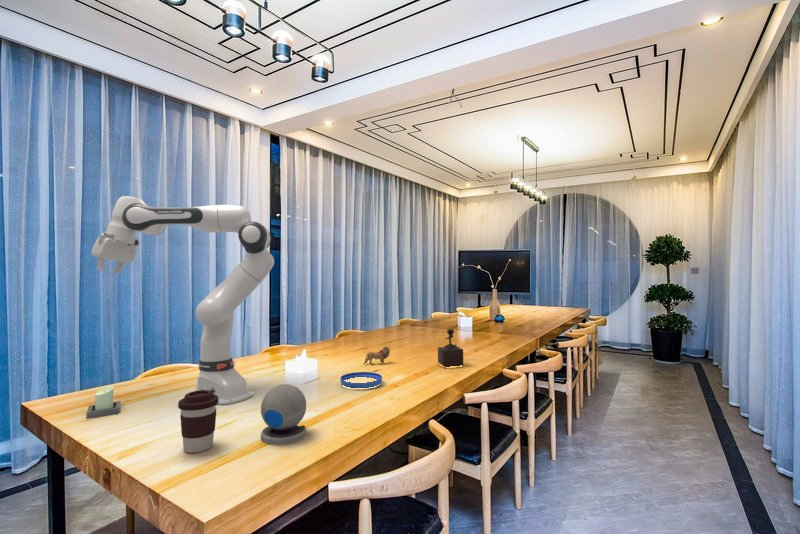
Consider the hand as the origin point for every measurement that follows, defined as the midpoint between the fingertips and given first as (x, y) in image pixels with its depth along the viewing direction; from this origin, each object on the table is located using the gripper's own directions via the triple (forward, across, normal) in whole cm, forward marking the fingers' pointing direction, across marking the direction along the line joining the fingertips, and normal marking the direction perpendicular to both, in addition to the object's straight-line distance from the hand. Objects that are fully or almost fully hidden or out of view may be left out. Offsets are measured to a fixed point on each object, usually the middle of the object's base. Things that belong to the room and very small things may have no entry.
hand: (108, 272), depth 150 cm
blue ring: (+26, +18, -103) cm, 108 cm away
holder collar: (+47, -8, -17) cm, 51 cm away
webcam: (+36, -34, -82) cm, 95 cm away
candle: (+47, -8, -17) cm, 51 cm away
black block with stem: (+12, +50, -147) cm, 156 cm away
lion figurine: (+20, +55, -111) cm, 125 cm away
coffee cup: (+41, -40, -60) cm, 83 cm away
